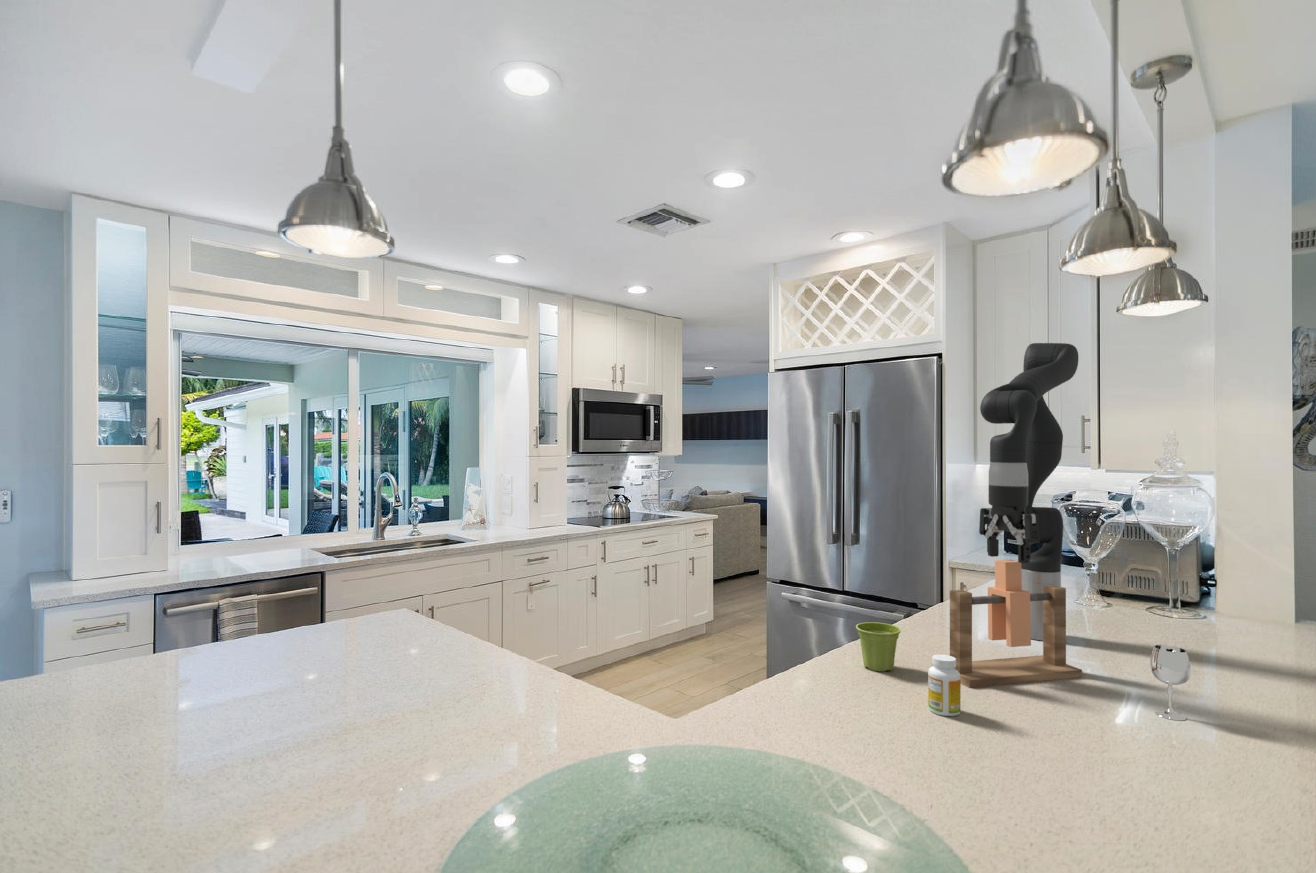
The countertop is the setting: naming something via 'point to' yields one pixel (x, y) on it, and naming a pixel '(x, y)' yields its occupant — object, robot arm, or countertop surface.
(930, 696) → the supplement bottle
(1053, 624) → the hook stand
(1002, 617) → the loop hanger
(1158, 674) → the wineglass
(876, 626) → the plant pot
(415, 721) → the countertop surface
